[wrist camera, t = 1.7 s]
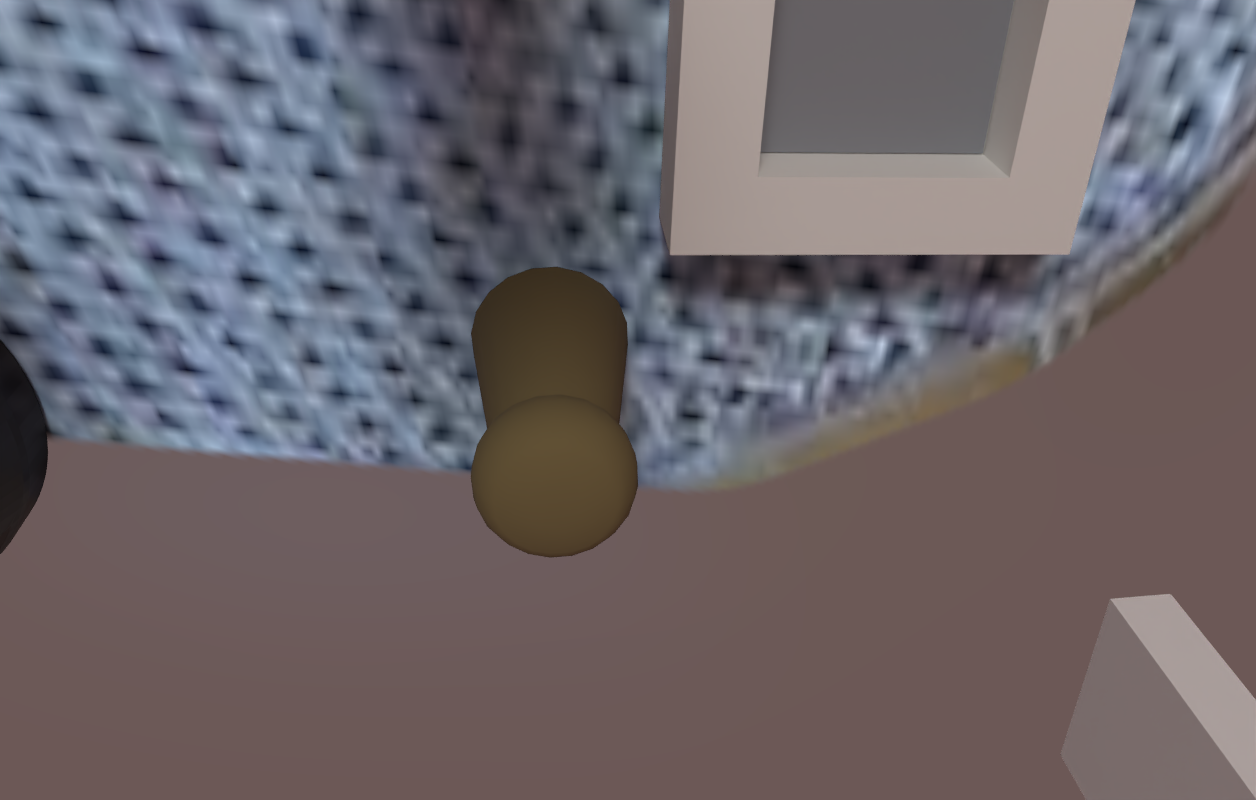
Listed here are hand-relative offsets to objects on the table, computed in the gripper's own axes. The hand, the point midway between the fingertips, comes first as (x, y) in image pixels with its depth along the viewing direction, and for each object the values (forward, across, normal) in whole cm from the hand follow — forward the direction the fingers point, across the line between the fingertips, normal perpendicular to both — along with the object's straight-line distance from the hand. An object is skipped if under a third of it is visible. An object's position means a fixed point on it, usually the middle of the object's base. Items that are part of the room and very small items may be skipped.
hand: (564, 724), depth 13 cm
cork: (+28, +1, -10) cm, 30 cm away
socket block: (+28, +12, +2) cm, 30 cm away
